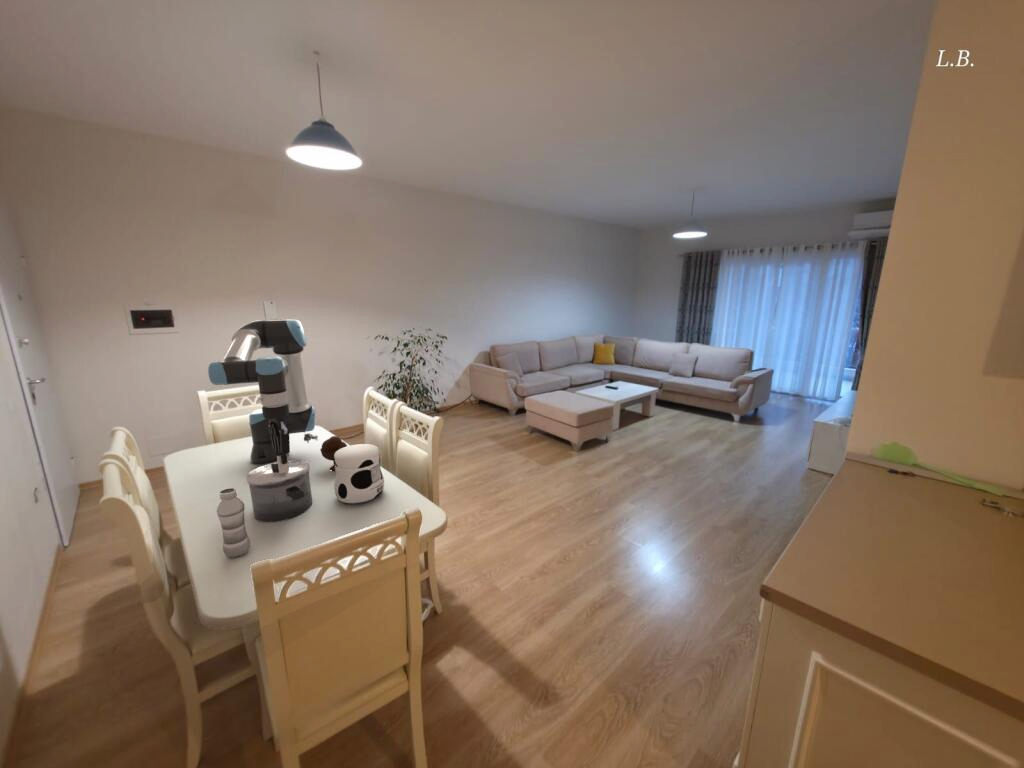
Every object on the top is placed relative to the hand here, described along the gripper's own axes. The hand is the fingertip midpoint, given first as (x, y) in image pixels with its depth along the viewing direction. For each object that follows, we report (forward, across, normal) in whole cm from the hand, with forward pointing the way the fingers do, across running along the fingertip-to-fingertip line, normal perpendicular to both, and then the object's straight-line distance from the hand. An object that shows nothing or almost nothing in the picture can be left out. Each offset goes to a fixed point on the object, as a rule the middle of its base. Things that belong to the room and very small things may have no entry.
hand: (284, 471), depth 136 cm
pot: (+15, -2, 0) cm, 16 cm away
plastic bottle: (+16, +12, -19) cm, 27 cm away
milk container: (+16, +8, +22) cm, 28 cm away
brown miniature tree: (+16, -23, +28) cm, 39 cm away
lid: (+2, -5, 0) cm, 6 cm away
